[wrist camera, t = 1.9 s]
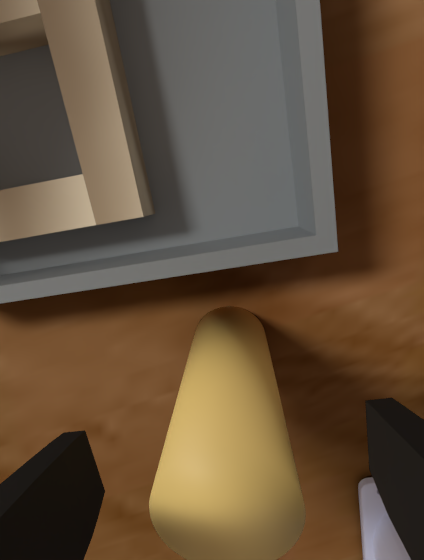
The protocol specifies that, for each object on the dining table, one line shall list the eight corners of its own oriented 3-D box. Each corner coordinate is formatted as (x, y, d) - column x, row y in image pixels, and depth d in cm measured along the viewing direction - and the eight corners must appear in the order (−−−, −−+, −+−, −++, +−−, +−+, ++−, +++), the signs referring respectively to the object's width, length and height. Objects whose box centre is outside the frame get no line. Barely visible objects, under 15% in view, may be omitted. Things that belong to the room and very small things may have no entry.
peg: (260, 301, 14) (296, 442, 6) (270, 367, 14) (312, 566, 7) (188, 311, 14) (133, 457, 6) (201, 375, 15) (166, 573, 7)
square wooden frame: (102, -32, 10) (78, -73, 9) (155, 213, 12) (143, 216, 11) (-111, 25, 11) (-169, -3, 10) (-30, 246, 13) (-67, 253, 12)
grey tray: (277, -148, 10) (297, -305, 7) (312, 237, 13) (338, 251, 10) (-169, -19, 11) (-316, -97, 8) (-45, 294, 14) (-120, 321, 11)
